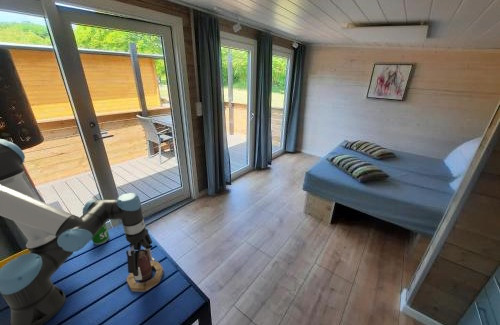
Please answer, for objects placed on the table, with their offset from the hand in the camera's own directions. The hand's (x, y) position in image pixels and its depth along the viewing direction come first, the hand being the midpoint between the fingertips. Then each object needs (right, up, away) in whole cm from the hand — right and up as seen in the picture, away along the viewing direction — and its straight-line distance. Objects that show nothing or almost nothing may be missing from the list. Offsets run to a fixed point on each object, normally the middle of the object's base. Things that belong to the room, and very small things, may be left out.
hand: (144, 268), depth 95 cm
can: (0, -5, +2) cm, 5 cm away
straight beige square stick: (-4, 0, +13) cm, 14 cm away
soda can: (-34, +4, +22) cm, 41 cm away
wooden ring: (0, -5, +2) cm, 5 cm away
